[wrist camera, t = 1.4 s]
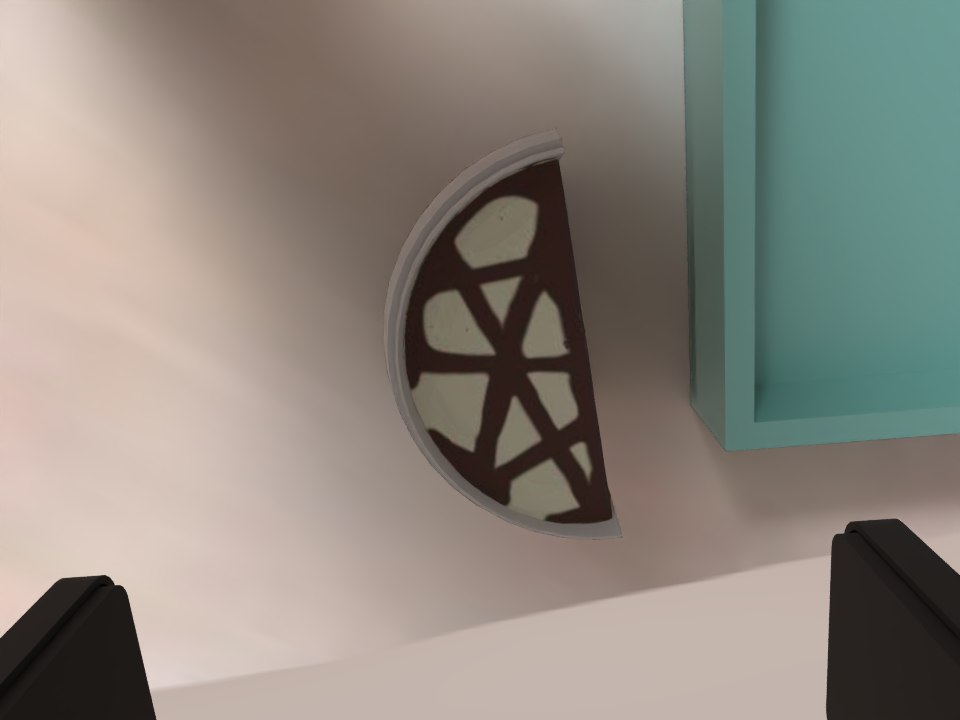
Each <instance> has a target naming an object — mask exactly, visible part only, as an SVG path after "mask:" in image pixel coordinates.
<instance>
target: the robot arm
mask: <svg viewBox="0 0 960 720" xmlns="http://www.w3.org/2000/svg"><path fill="white" fill-rule="evenodd" d="M826 713H827V720H960V575H959V574H958V573H957V572H955V570H953V569H952V568H951V567H950V566H949V565H948V564H947V563H945V561H944V560H943V559H942V558H940V557H939V556H938V555H937V554H936V553H935V552H934V551H933V550H932V549H931V548H930V547H929V546H927V545H926V544H925V543H924V542H923V541H922V540H921V539H920V538H919V537H918V536H917V535H916V534H914V533H913V532H912V531H911V530H910V529H909V528H908V527H907V526H906V525H905V524H904V523H903V522H901V521H900V520H898V519H882V520H868V521H854V522H850V523H849V524H848V525H847V526H846V529H845V533H844V534H836V535H835V536H834V538H833V540H832V551H831V581H830V612H829V639H828V669H827V699H826ZM0 720H156V716H155V712H154V708H153V703H152V699H151V694H150V690H149V686H148V681H147V677H146V673H145V668H144V664H143V660H142V655H141V651H140V647H139V642H138V638H137V634H136V629H135V625H134V621H133V616H132V612H131V608H130V603H129V599H128V595H127V592H126V590H125V589H124V587H122V586H121V585H115V584H114V582H113V581H112V580H111V578H110V577H108V576H106V575H101V576H87V577H73V578H62V579H60V580H58V581H57V582H56V583H55V584H54V585H53V586H52V587H51V588H50V589H49V590H48V591H47V592H46V593H45V594H44V595H43V596H42V597H41V598H40V599H39V600H38V601H37V602H36V603H35V604H34V605H33V606H32V607H31V608H30V609H29V610H28V611H27V612H26V613H25V614H24V615H23V616H22V617H21V618H20V619H19V620H18V621H17V622H16V623H15V624H14V625H13V626H12V627H11V628H10V629H9V630H8V631H7V632H6V633H5V634H4V635H3V636H2V637H1V638H0Z"/></svg>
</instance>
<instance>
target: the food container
mask: <svg viewBox="0 0 960 720" xmlns="http://www.w3.org/2000/svg"><path fill="white" fill-rule="evenodd" d="M564 153H565V148H564V147H563V146H562V139H561V137H560V135H559V133H558V131H557V130H556V128H554V129H550V130H547V131H543V132H540V133H536V134H533V135H529V136H526V137H523V138H521V139H518V140H516V141H514V142H512V143H510V144H507V145H505V146H503V147H501V148H499V149H497V150H494V151H492V152H491V153H489V154H488V155H486V156H485V157H483V158H482V159H480V160H479V161H477V162H476V163H474V164H472V165H471V166H469V167H468V168H466V169H465V170H463V171H462V172H461V173H460V174H459V175H458V176H457V177H456V178H455V179H454V180H452V181H451V182H450V183H449V184H448V185H447V186H446V187H445V188H444V189H443V190H442V191H441V192H439V193H438V194H437V196H436V197H435V198H434V200H433V201H432V202H431V203H430V205H429V206H428V207H427V208H426V210H425V211H424V212H423V213H422V215H421V216H420V217H419V219H418V220H417V221H416V223H415V225H414V227H413V229H412V230H411V232H410V234H409V236H408V238H407V239H406V241H405V243H404V245H403V247H402V248H401V251H400V253H399V256H398V259H397V262H396V264H395V267H394V270H393V273H392V275H391V278H390V282H389V287H388V293H387V298H386V303H385V309H384V332H383V344H384V351H385V358H386V366H387V373H388V376H389V379H390V383H391V386H392V389H393V392H394V395H395V399H396V402H397V405H398V408H399V411H400V414H401V416H402V418H403V420H404V422H405V424H406V426H407V428H408V430H409V432H410V434H411V436H412V438H413V440H414V442H415V443H416V444H417V446H418V447H419V449H420V450H421V452H422V453H423V454H424V456H425V457H426V459H427V460H428V461H429V463H430V464H431V466H432V467H433V468H434V469H435V470H436V471H437V472H438V473H439V474H440V475H441V476H442V477H443V478H444V479H445V480H446V481H447V482H448V483H449V484H450V485H451V486H452V487H453V488H454V489H456V490H457V491H458V492H460V493H461V494H462V495H464V496H465V497H466V498H468V499H469V500H470V501H472V502H473V503H474V504H476V505H477V506H479V507H481V508H483V509H485V510H487V511H489V512H490V513H492V514H494V515H496V516H498V517H500V518H502V519H503V520H505V521H507V522H509V523H512V524H515V525H518V526H521V527H523V528H526V529H529V530H532V531H535V532H538V533H543V534H548V535H553V536H558V537H563V538H576V539H593V540H596V539H609V538H621V537H622V533H621V530H620V526H619V523H618V520H617V516H616V513H615V510H614V506H613V503H612V500H611V495H610V492H609V489H608V485H607V479H606V473H605V466H604V459H603V452H602V445H601V438H600V432H599V425H598V419H597V412H596V406H595V399H594V392H593V385H592V378H591V371H590V363H589V356H588V349H587V343H586V337H585V329H584V324H583V318H582V312H581V306H580V299H579V291H578V284H577V277H576V270H575V263H574V256H573V249H572V243H571V236H570V229H569V223H568V216H567V209H566V203H565V197H564V191H563V185H562V179H561V172H560V166H559V159H560V158H561V157H562V155H563V154H564Z"/></svg>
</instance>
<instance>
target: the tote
mask: <svg viewBox="0 0 960 720" xmlns="http://www.w3.org/2000/svg"><path fill="white" fill-rule="evenodd" d="M683 27H684V79H685V131H686V183H687V235H688V287H689V339H690V391H691V407H692V408H693V409H694V411H695V412H696V413H697V415H698V416H699V417H700V418H701V420H702V421H703V422H704V424H705V425H706V426H707V428H708V429H709V430H710V432H711V433H712V434H713V436H714V437H715V438H716V440H717V441H718V442H719V444H720V445H721V446H722V447H723V449H724V450H725V451H739V450H752V449H765V448H777V447H790V446H803V445H816V444H829V443H842V442H854V441H867V440H880V439H893V438H906V437H919V436H931V435H944V434H957V433H960V0H683Z"/></svg>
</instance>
